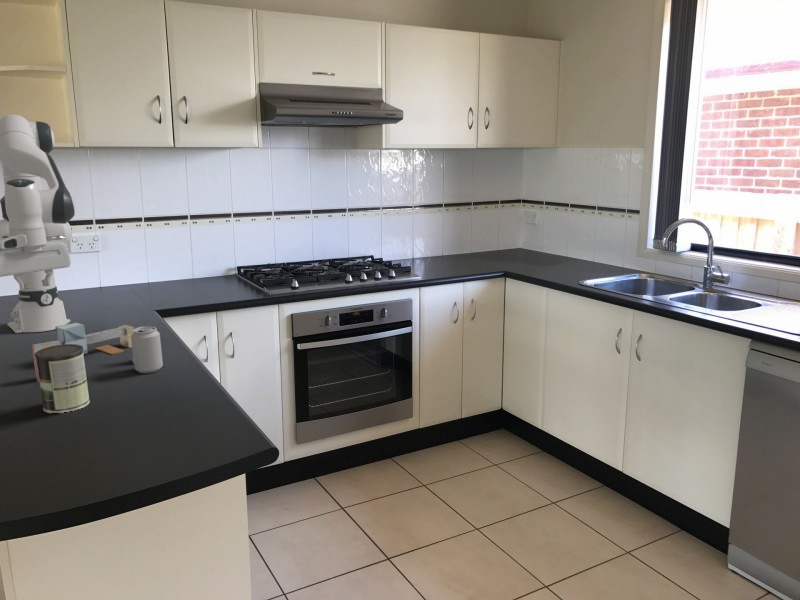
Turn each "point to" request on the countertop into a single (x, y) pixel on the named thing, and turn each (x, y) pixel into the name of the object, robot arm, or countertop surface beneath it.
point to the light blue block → (72, 335)
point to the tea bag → (38, 347)
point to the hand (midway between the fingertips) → (35, 287)
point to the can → (146, 349)
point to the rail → (121, 332)
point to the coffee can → (62, 378)
